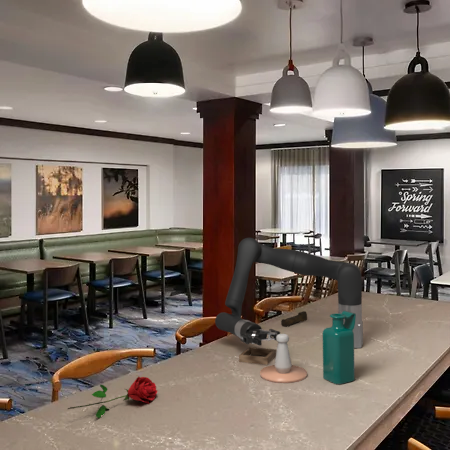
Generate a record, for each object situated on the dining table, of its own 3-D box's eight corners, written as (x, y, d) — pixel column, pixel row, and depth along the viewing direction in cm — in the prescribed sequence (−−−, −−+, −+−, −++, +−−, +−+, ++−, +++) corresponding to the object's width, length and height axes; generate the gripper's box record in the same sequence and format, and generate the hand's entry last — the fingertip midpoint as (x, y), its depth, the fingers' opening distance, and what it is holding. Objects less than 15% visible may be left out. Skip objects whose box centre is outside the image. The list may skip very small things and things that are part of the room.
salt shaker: (273, 369, 180) (272, 332, 180) (289, 368, 181) (289, 331, 180) (276, 375, 175) (275, 337, 174) (293, 374, 175) (292, 336, 174)
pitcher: (337, 385, 166) (336, 318, 165) (320, 377, 174) (319, 313, 173) (360, 380, 171) (359, 314, 170) (343, 372, 178) (342, 309, 177)
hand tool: (287, 328, 242) (287, 318, 242) (280, 326, 245) (280, 317, 244) (311, 320, 255) (311, 311, 255) (304, 319, 258) (304, 310, 258)
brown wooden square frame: (276, 355, 199) (276, 349, 199) (267, 364, 189) (267, 357, 189) (249, 353, 203) (249, 347, 203) (239, 361, 193) (239, 355, 193)
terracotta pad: (311, 369, 182) (311, 367, 182) (300, 385, 167) (300, 382, 167) (268, 365, 188) (268, 362, 188) (253, 379, 173) (253, 377, 173)
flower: (73, 387, 140) (161, 368, 161) (58, 395, 146) (144, 376, 167) (80, 421, 137) (169, 397, 158) (64, 428, 143) (152, 404, 164)
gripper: (231, 323, 195) (253, 333, 180) (263, 319, 201) (287, 327, 187) (231, 343, 195) (254, 354, 181) (264, 338, 202) (287, 348, 187)
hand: (271, 340), depth 184 cm, fingers open, 8 cm apart
